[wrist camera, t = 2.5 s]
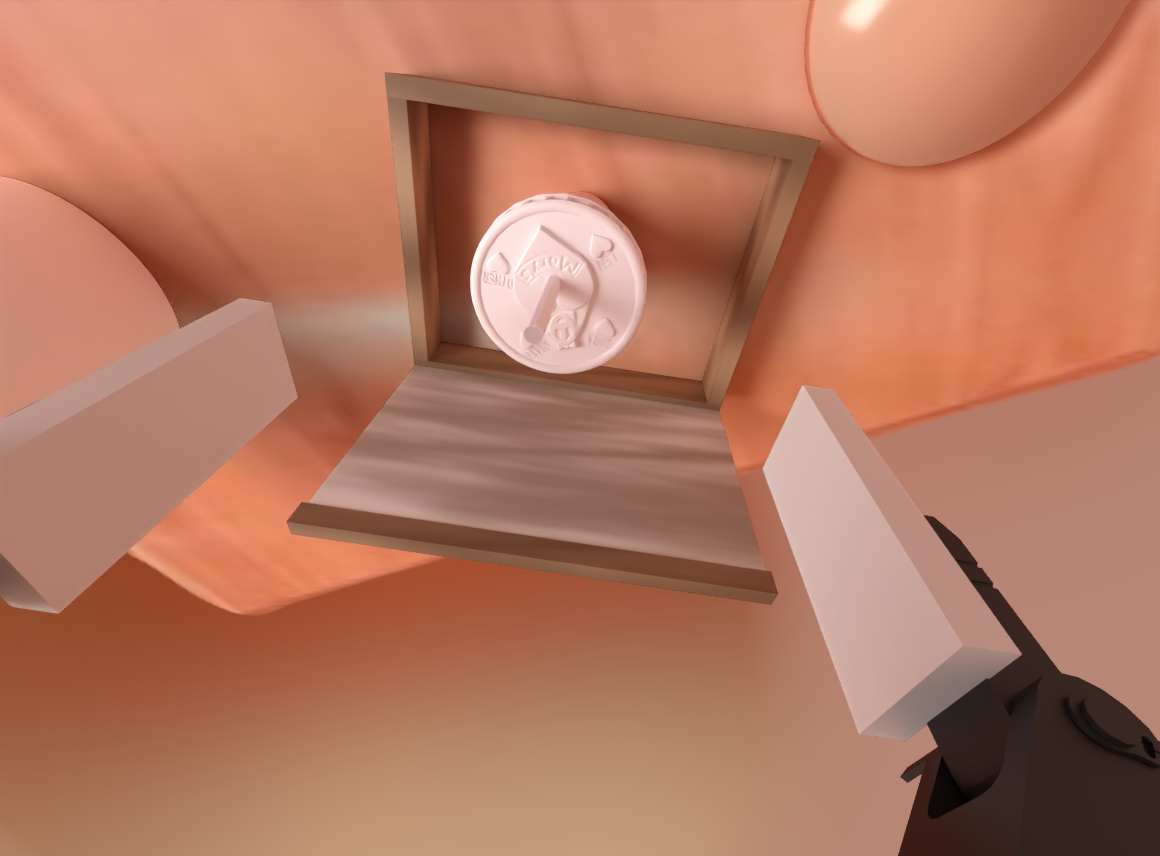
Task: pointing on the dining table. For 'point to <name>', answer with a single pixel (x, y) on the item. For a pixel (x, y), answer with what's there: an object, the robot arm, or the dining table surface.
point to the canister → (66, 296)
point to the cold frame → (558, 405)
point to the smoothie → (559, 283)
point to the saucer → (944, 69)
